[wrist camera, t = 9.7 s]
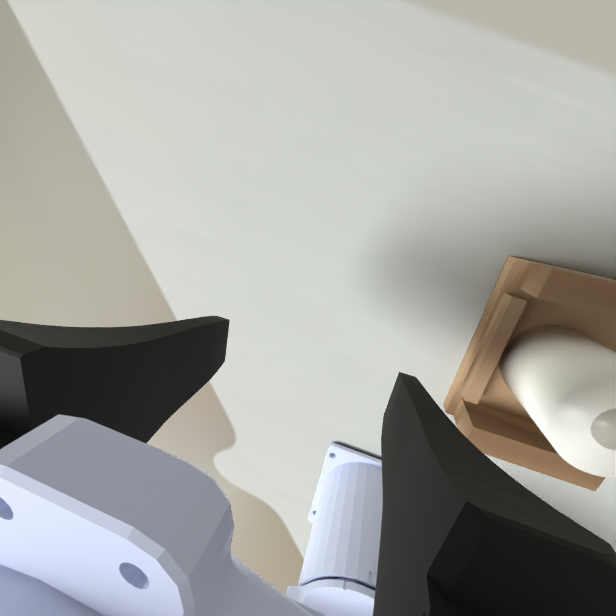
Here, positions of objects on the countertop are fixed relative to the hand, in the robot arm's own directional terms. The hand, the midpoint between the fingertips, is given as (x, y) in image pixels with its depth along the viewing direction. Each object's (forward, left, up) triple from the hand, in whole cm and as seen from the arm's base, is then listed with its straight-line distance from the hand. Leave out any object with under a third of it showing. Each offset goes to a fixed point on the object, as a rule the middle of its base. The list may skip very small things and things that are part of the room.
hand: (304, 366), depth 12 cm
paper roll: (0, -13, -9) cm, 16 cm away
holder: (0, -13, -10) cm, 16 cm away
